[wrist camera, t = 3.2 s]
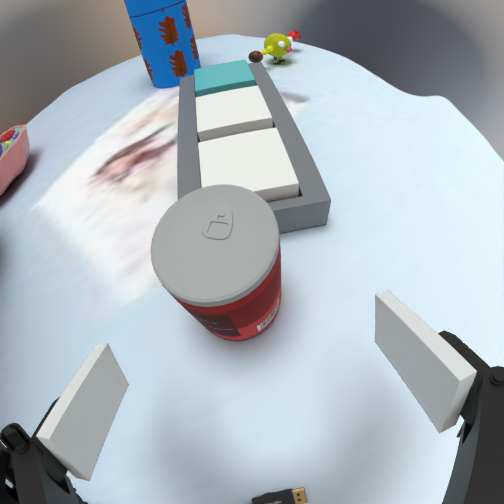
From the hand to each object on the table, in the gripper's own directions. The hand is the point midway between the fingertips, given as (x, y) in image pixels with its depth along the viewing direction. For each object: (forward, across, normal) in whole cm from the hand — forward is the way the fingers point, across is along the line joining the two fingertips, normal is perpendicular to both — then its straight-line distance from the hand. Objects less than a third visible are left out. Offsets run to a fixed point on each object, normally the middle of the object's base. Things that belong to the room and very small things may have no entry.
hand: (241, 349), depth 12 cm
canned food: (+13, -1, -4) cm, 13 cm away
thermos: (+47, -7, +31) cm, 57 cm away
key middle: (+27, +2, +14) cm, 30 cm away
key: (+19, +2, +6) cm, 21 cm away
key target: (+34, +2, +21) cm, 40 cm away
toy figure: (+45, +14, +29) cm, 56 cm away
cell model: (+36, -46, +20) cm, 62 cm away
